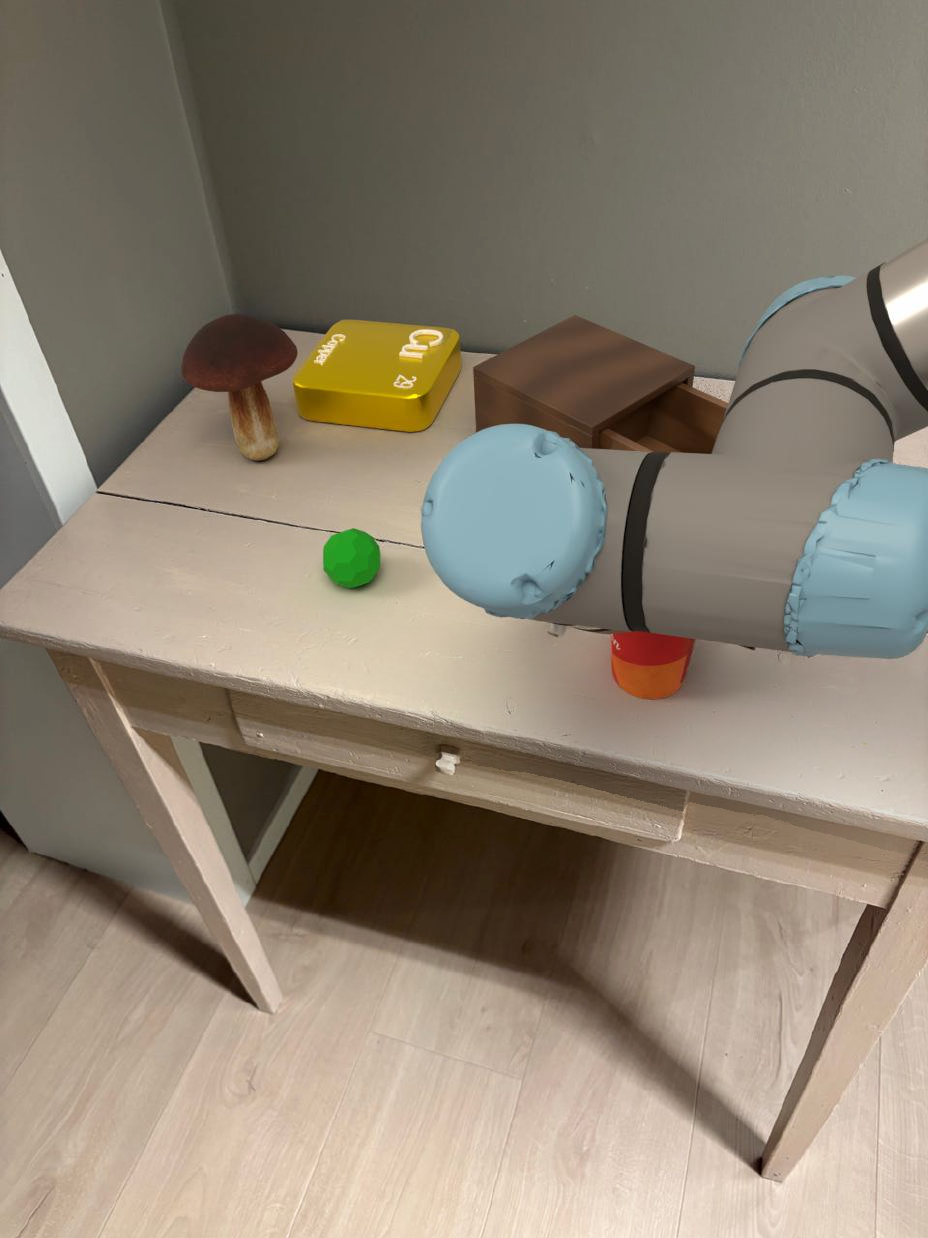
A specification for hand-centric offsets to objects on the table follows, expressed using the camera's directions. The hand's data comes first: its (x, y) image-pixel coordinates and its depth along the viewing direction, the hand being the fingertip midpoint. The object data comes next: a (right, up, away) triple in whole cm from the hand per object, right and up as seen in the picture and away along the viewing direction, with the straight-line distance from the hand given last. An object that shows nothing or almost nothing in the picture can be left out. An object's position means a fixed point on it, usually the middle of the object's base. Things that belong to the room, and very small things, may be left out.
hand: (666, 595), depth 71 cm
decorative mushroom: (-35, +15, +27) cm, 47 cm away
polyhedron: (-24, +2, +12) cm, 27 cm away
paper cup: (-1, -6, +3) cm, 7 cm away
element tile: (-24, +23, +35) cm, 48 cm away
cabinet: (-4, +14, +24) cm, 28 cm away
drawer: (+5, +9, +16) cm, 19 cm away
